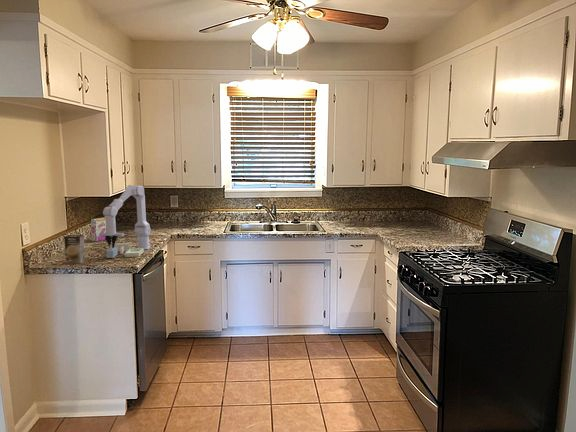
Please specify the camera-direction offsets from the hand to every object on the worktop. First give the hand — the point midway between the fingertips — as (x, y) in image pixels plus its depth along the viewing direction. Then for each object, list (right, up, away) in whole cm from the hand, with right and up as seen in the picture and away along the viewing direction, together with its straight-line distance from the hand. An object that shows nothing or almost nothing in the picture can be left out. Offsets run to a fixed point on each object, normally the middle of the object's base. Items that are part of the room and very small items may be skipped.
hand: (111, 247), depth 277 cm
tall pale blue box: (0, -5, +1) cm, 5 cm away
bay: (-2, -4, +14) cm, 15 cm away
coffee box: (-17, -8, -13) cm, 22 cm away
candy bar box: (-30, +1, +55) cm, 62 cm away
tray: (+11, -5, +8) cm, 15 cm away
